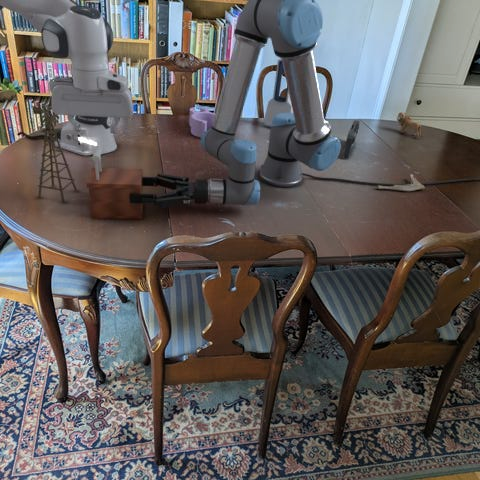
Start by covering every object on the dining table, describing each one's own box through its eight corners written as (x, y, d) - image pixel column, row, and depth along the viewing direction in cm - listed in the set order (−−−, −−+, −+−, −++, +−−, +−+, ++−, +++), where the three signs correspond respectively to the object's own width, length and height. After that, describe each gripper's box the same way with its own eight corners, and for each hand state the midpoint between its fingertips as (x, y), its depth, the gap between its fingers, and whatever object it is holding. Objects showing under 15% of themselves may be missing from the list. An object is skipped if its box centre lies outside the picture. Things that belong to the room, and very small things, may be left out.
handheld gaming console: (349, 160, 187) (354, 136, 182) (342, 158, 188) (347, 134, 183) (355, 142, 206) (361, 119, 201) (349, 140, 207) (354, 118, 201)
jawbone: (429, 189, 172) (431, 184, 171) (394, 201, 161) (396, 196, 160) (410, 177, 177) (412, 172, 176) (375, 189, 167) (376, 184, 165)
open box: (91, 218, 133) (88, 187, 128) (96, 201, 141) (93, 171, 136) (141, 219, 135) (140, 188, 130) (143, 202, 144) (142, 173, 138)
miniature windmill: (63, 202, 138) (50, 102, 122) (36, 197, 139) (20, 97, 123) (78, 189, 146) (67, 93, 130) (53, 185, 147) (39, 89, 131)
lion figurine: (391, 130, 224) (396, 112, 219) (396, 128, 227) (401, 110, 222) (420, 139, 216) (426, 121, 211) (425, 137, 220) (431, 118, 215)
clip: (182, 123, 206) (183, 107, 202) (209, 122, 210) (210, 106, 207) (197, 140, 191) (197, 123, 187) (225, 138, 195) (226, 122, 191)
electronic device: (292, 127, 215) (303, 59, 199) (288, 132, 209) (299, 62, 192) (267, 122, 218) (275, 54, 201) (262, 126, 212) (270, 57, 195)
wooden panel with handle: (86, 187, 128) (83, 158, 123) (92, 171, 136) (89, 143, 131) (140, 188, 130) (139, 160, 125) (142, 173, 138) (141, 145, 134)
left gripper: (44, 79, 113) (52, 134, 120) (131, 84, 116) (133, 137, 124) (50, 72, 118) (57, 125, 126) (133, 78, 121) (134, 129, 129)
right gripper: (209, 221, 131) (128, 220, 128) (204, 185, 150) (134, 183, 147) (211, 198, 127) (127, 196, 124) (205, 163, 146) (133, 161, 143)
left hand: (95, 131), depth 125 cm, fingers open, 8 cm apart
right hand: (131, 189), depth 135 cm, fingers closed on open box, 10 cm apart
